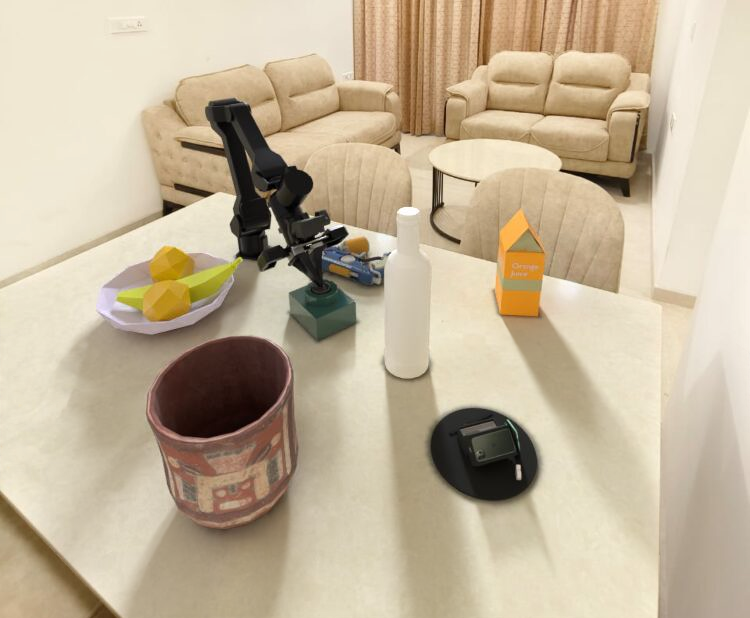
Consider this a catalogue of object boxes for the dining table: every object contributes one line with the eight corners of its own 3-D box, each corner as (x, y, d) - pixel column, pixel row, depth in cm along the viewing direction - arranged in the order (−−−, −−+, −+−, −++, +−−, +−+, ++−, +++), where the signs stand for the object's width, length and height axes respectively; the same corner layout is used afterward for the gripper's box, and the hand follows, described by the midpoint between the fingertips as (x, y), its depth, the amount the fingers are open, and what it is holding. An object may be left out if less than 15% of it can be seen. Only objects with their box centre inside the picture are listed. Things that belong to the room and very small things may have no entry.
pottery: (147, 483, 68) (121, 381, 62) (258, 410, 80) (246, 317, 73) (210, 587, 56) (185, 474, 50) (330, 484, 68) (323, 381, 61)
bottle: (426, 382, 85) (431, 224, 74) (380, 376, 86) (379, 220, 75) (430, 351, 92) (436, 202, 81) (388, 345, 93) (388, 199, 82)
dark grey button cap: (309, 295, 100) (308, 285, 99) (324, 288, 102) (323, 279, 101) (318, 303, 97) (317, 294, 96) (333, 296, 99) (333, 287, 98)
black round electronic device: (457, 514, 64) (459, 484, 62) (415, 422, 77) (416, 395, 75) (558, 482, 68) (564, 453, 66) (502, 400, 81) (505, 373, 79)
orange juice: (530, 291, 109) (540, 208, 102) (538, 316, 101) (550, 228, 94) (493, 289, 110) (501, 207, 103) (499, 314, 102) (507, 227, 94)
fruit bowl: (70, 340, 96) (56, 290, 92) (159, 267, 120) (150, 225, 116) (200, 363, 90) (191, 310, 85) (266, 281, 114) (261, 237, 110)
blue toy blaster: (341, 241, 131) (306, 268, 119) (341, 227, 129) (305, 253, 117) (412, 263, 121) (381, 295, 109) (413, 248, 120) (381, 279, 108)
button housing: (290, 312, 103) (287, 284, 101) (327, 297, 108) (325, 269, 106) (317, 341, 95) (315, 310, 92) (356, 322, 100) (355, 293, 97)
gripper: (257, 212, 91) (290, 290, 87) (342, 188, 102) (375, 256, 98) (244, 235, 100) (274, 307, 96) (323, 210, 110) (353, 274, 106)
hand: (321, 285), depth 99 cm, fingers closed, pressing on dark grey button cap
